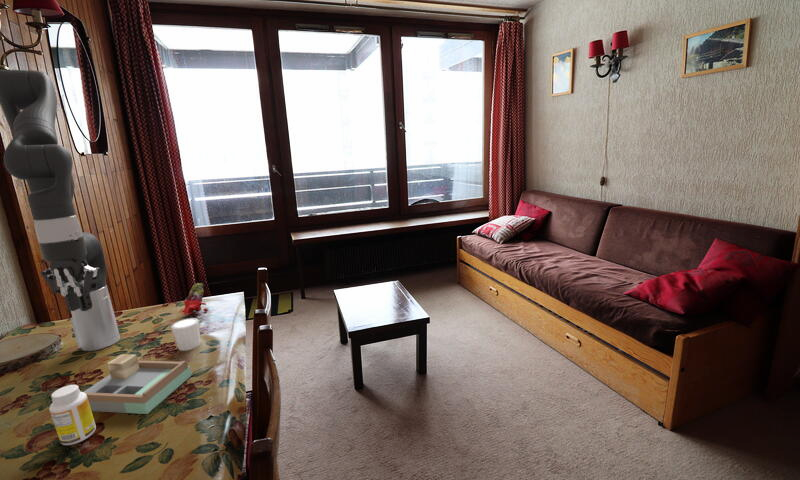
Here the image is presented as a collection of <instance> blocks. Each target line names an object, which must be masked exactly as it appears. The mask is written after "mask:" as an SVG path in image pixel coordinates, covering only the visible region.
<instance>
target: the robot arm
mask: <svg viewBox="0 0 800 480" xmlns="http://www.w3.org/2000/svg"><path fill="white" fill-rule="evenodd" d="M0 107H1V109H2V112H3V115H4V117H5V120H6V122H7V125H8V127H9V130H10V132H11V135H12V137H13V138H12V139H11V140H10V142H9V143H8V145H7V146H6V149H5V150H4V153H3V165H4V167H5V169H6V171H7V172H8V173H9V174H10V175H11V176H13V177H14V178H16V179H19V180H23V181H26V184H27V187H28V189H29V191H30V193H29V194H28V196H27V201H28V205H29V208H30V212H31V214H32V218H33V223H34V229H35V234H36V238H37V242H38V245H39V249H40V251H41V255H42V258H43V261H44V262H47V263H49V265H48V266H49V268H47V269H45V270H41V271H40V275H41V276H42V278H43V279H44V281H45V282H46V283H47V285H49V287H50V289H51V290H52V291H53V293H54V294H56V295H57V294H61V296H62V297H64V300H65V303H66V308H67V309H68V311H69V312H70V314H71V316H72V317H70V322H71V325H72V330H73V332H74V336H75V337H74V338H75V340H76V344H77V347H78V349H81V351H84V352H93V351H97V350H98V351H99V350H101V349H105V348H108V347H111V346H112V345H114V344H116V343H117V342H119V341H120V339H121V336H120V332H119V331H120V330H119V328H118V327H119V326H118V323H117V319H116V316H115V312H114V308H113V304H112V300H111V297H110V293H109V289H108V285H107V281H106V280H107V279H106V278H107V275H108V270H107V266H106V260H105V255H104V250H103V246H102V244H101V242H100V240H99V238H97V237H96V236H95V235H94V234H93V233H90V232H87V231H83V230H82V227H81V224H80V221H79V219H78V217H77V213H76V210H75V206H74V201H73V199H74V195H75V186H76V185H75V181H74V177H73V173H72V172H73V157H72V155H71V153H70V151H69V150H68V149H67V148H66V147H64V146H63V145H60V144H59V142H58V141H59V140H58V137H57V132H56V117H57V112H58V111H57V110H58V98H57V92H56V89H55V86H54V84H53V81H52V79H51V78H50V76H49V75H48V74H47V73H45V72H43V71H39V70H33V69H32V70H29V69H27V70H25V69H0Z"/></svg>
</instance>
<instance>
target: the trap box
mask: <svg viewBox="0 0 800 480" xmlns="http://www.w3.org/2000/svg"><path fill="white" fill-rule="evenodd" d="M138 364H139V368H140V370H138V371H137V372H135V373H134V374H133V375H131V376H130V377H128V378H127V379H111V376H110V374H108V375H107V376H105V377H104V378H101V379H100V380H99V381H98V382H96V383H94V384H93V385H92V386H90V387H89V388H87V389H86V390H84V391H83V392H84V393H85V394H86V395H87V398H88V401H89V404H90V408H91V411H92V412H103V413H104V412H105V413H120V414H121V413H122V414H123V413H125V414H140V415H141V414H142V415H143V414H144V415H148V414H149V413H150V412H152V410H153V409H155V408H156V407H157V406H158V405H159V404H161V403H162V402H163V401H164V400H165V399H167V398H168V397H169V396H170V395H171V394H172V393H173V392H174V391H176V390H177V389H178V388H179V387H180V386H181V385H183V383H185V382H186V381H187V380H188V379H189V378H191V376H192V370H191V366H190V365H188V364H189V363H188V362H187V361H186V360H183V361H169V360H166V361H164V360H160V361H158V360H138Z"/></svg>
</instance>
